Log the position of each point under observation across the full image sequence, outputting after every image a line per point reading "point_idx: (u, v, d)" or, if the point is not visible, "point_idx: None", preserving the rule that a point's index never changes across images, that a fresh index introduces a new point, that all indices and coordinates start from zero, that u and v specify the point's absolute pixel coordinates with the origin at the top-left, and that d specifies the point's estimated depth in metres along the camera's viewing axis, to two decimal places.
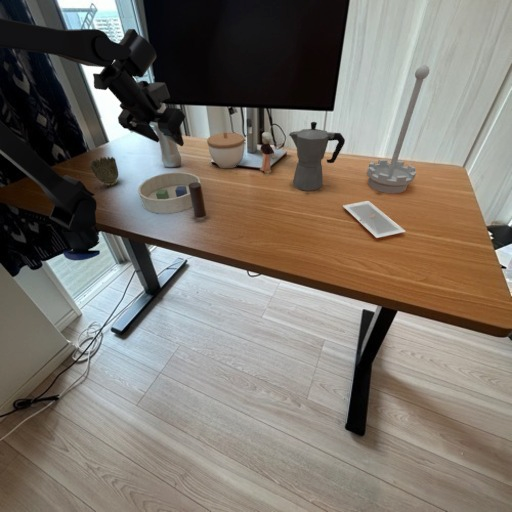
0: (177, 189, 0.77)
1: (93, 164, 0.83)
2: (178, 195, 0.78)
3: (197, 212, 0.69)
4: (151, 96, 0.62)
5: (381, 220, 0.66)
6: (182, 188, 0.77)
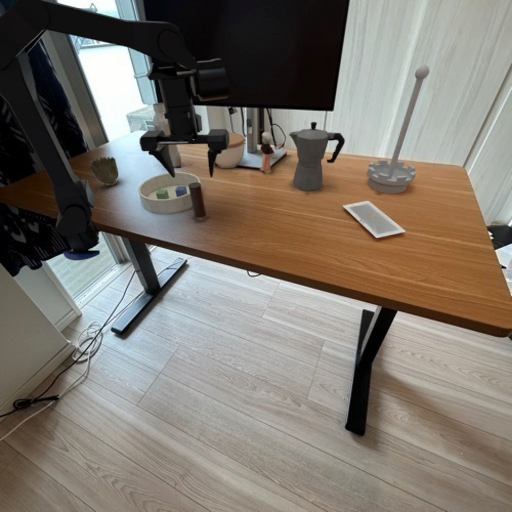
0: (177, 189, 0.77)
1: (93, 164, 0.83)
2: (178, 195, 0.78)
3: (197, 212, 0.69)
4: (196, 116, 0.58)
5: (381, 220, 0.66)
6: (182, 188, 0.77)
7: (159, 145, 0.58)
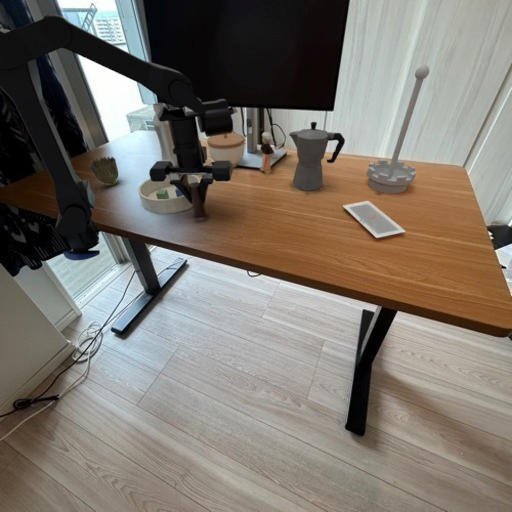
0: (177, 189, 0.77)
1: (93, 164, 0.83)
2: (178, 195, 0.78)
3: (197, 212, 0.69)
4: (202, 149, 0.62)
5: (381, 220, 0.66)
6: None
7: (179, 175, 0.63)
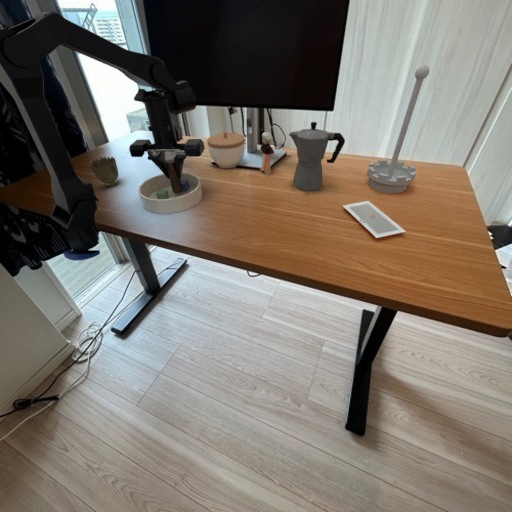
0: None
1: (93, 164, 0.83)
2: None
3: (173, 186, 0.77)
4: (176, 128, 0.71)
5: (381, 220, 0.66)
6: (184, 182, 0.80)
7: (156, 152, 0.71)
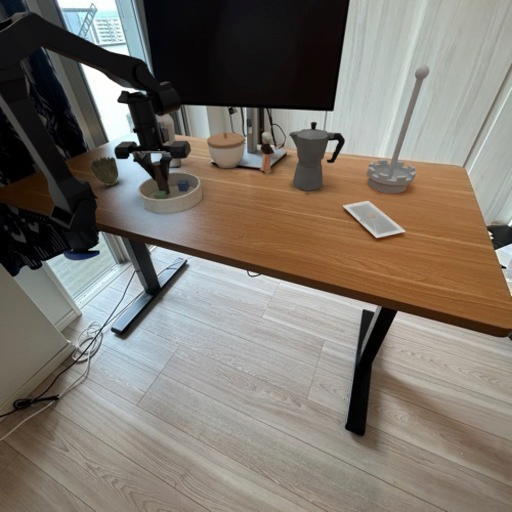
0: (179, 183, 0.80)
1: (93, 164, 0.83)
2: (180, 188, 0.81)
3: (160, 189, 0.77)
4: (161, 130, 0.70)
5: (381, 220, 0.66)
6: (184, 182, 0.80)
7: (142, 154, 0.70)
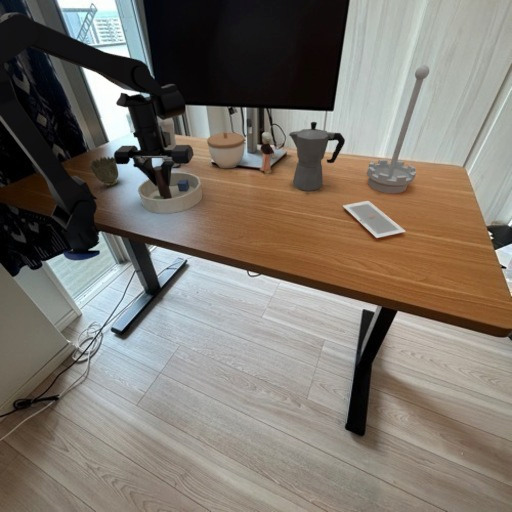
0: (179, 183, 0.80)
1: (93, 164, 0.83)
2: (180, 188, 0.81)
3: (162, 194, 0.74)
4: (163, 134, 0.67)
5: (381, 220, 0.66)
6: (184, 182, 0.80)
7: (142, 158, 0.67)
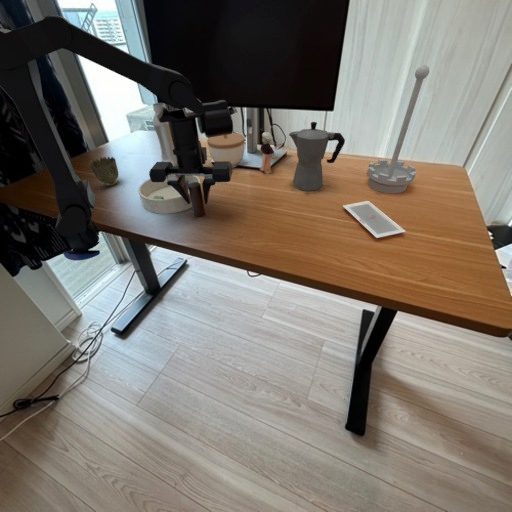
0: None
1: (93, 164, 0.83)
2: None
3: (196, 212, 0.69)
4: (202, 150, 0.63)
5: (381, 220, 0.66)
6: None
7: (177, 176, 0.63)
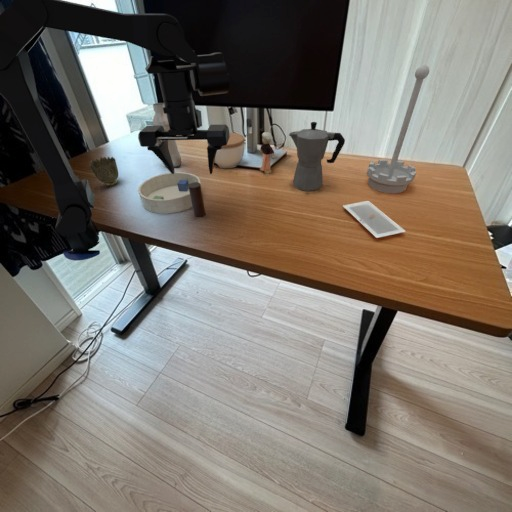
0: (179, 183, 0.80)
1: (93, 164, 0.83)
2: (180, 188, 0.81)
3: (196, 212, 0.69)
4: (196, 111, 0.57)
5: (381, 220, 0.66)
6: (184, 182, 0.80)
7: (158, 140, 0.58)
